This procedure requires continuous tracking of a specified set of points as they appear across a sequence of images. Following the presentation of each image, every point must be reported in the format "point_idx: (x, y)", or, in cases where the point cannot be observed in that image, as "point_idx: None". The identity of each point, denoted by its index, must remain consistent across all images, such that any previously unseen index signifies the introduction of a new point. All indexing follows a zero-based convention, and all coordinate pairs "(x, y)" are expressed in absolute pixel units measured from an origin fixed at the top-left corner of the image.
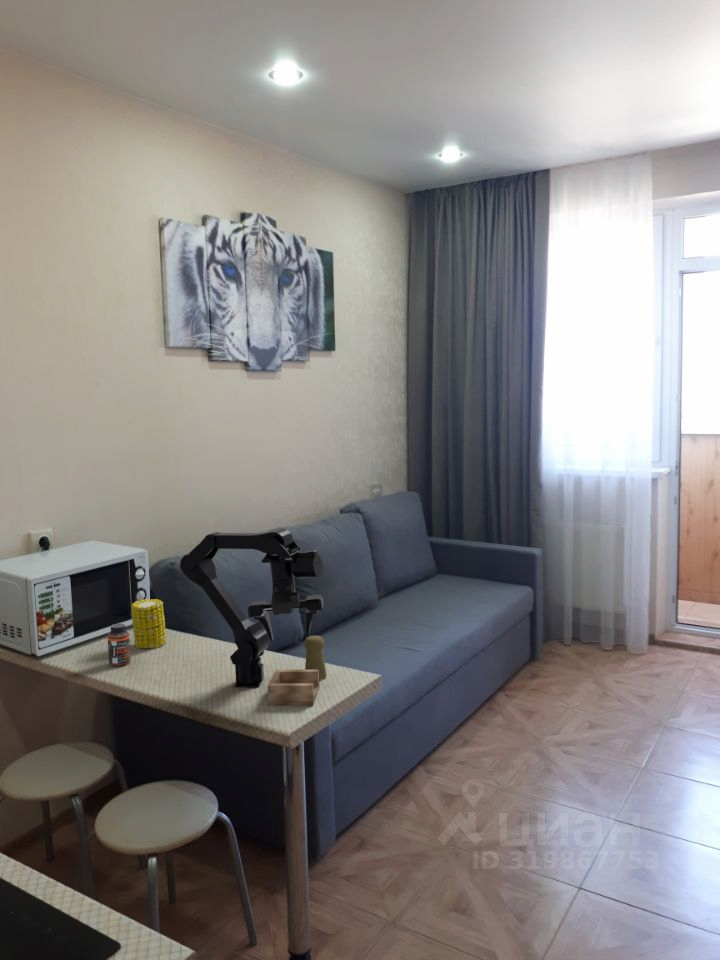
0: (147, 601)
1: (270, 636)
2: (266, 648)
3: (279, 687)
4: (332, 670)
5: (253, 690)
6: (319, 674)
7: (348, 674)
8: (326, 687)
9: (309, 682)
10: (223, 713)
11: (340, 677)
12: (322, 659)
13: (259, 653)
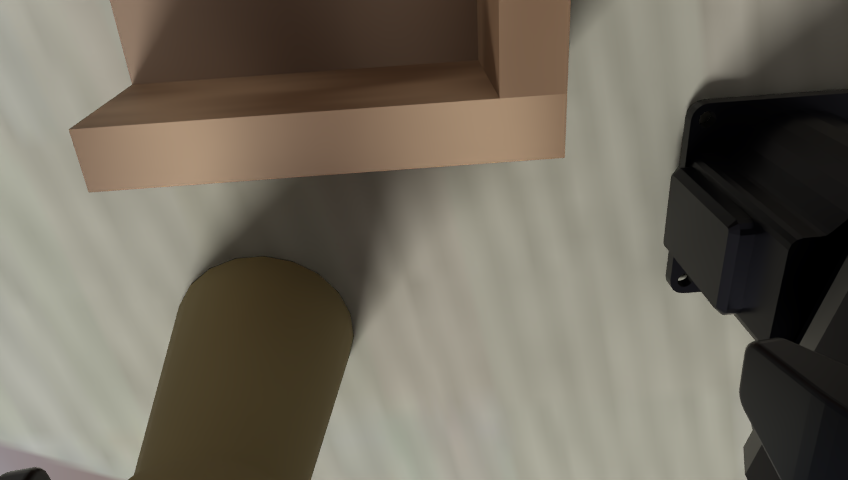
0: None
1: (842, 384)
2: (751, 434)
3: None
4: None
5: (725, 28)
6: (197, 302)
7: (35, 395)
8: None
9: (202, 88)
10: None
11: (71, 341)
12: (149, 421)
13: (840, 270)
